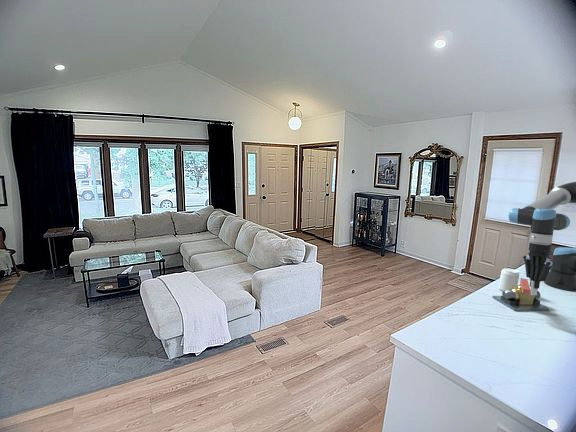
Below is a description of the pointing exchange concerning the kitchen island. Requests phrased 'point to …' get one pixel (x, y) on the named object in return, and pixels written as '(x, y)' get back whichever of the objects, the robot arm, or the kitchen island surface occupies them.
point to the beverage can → (508, 278)
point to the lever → (525, 286)
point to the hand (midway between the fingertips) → (533, 294)
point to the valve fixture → (520, 300)
